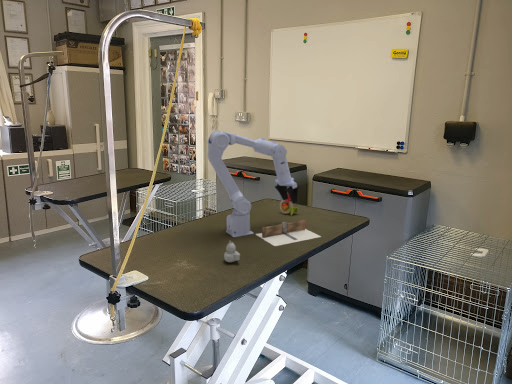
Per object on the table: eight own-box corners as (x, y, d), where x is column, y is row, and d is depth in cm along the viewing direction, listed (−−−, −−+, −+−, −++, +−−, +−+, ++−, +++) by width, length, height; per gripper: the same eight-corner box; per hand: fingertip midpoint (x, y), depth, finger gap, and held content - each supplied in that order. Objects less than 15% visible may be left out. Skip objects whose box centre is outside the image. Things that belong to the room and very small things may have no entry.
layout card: (274, 247, 154) (274, 245, 154) (255, 235, 168) (255, 233, 168) (321, 237, 164) (321, 236, 164) (299, 226, 178) (299, 225, 178)
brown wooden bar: (287, 232, 168) (287, 223, 167) (285, 231, 170) (285, 222, 169) (305, 229, 172) (306, 220, 171) (303, 228, 174) (304, 219, 173)
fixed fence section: (263, 238, 163) (263, 226, 162) (261, 236, 164) (261, 225, 163) (287, 233, 168) (287, 222, 167) (285, 232, 170) (285, 221, 169)
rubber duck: (230, 257, 145) (229, 236, 143) (244, 261, 141) (244, 240, 139) (220, 262, 140) (219, 240, 139) (234, 266, 137) (234, 244, 135)
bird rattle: (281, 219, 196) (297, 214, 191) (272, 198, 195) (288, 192, 191) (286, 216, 201) (302, 211, 196) (278, 195, 201) (293, 190, 196)
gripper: (299, 170, 165) (307, 200, 169) (281, 166, 178) (288, 194, 182) (285, 176, 162) (293, 206, 167) (268, 172, 175) (275, 200, 179)
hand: (290, 200), depth 174 cm, fingers open, 7 cm apart
